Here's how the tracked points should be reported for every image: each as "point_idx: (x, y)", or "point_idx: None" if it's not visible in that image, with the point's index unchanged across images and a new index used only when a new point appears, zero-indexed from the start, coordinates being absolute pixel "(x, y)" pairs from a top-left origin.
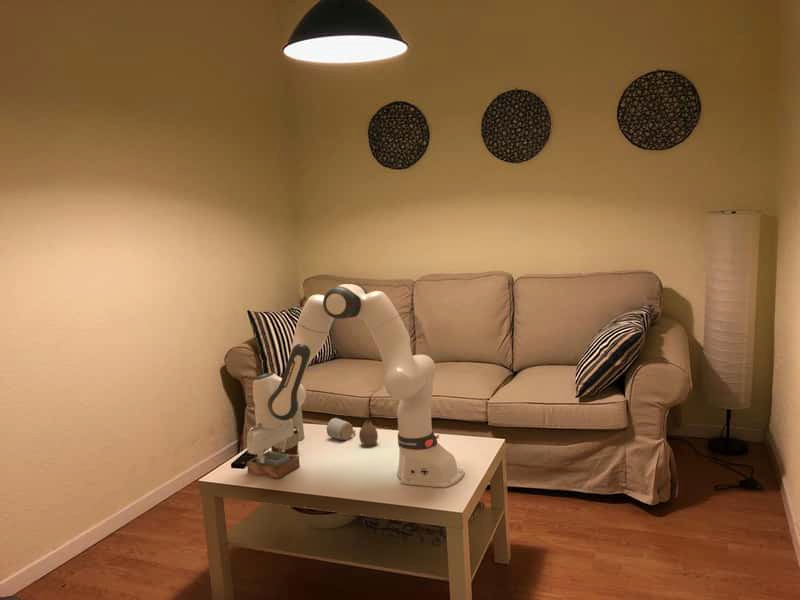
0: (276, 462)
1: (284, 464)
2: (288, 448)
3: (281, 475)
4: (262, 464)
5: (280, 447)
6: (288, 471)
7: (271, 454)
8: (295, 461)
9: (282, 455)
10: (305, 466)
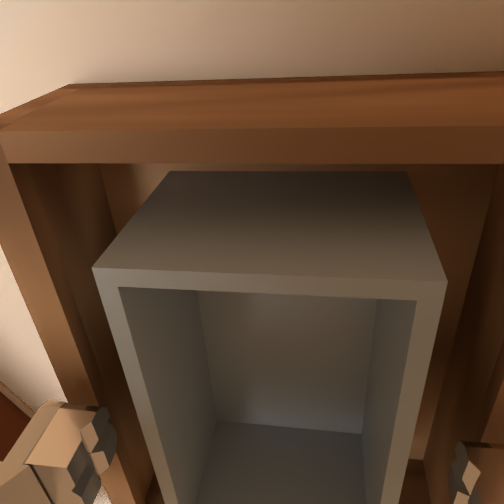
0: (435, 292)
1: (388, 126)
2: None
3: (472, 79)
4: (488, 438)
5: (50, 500)
6: (299, 84)
7: (186, 481)
8: (88, 113)
9: (149, 364)
10: (3, 27)
